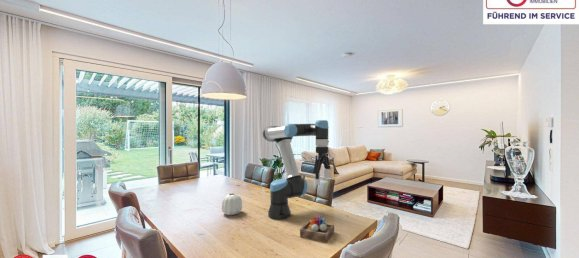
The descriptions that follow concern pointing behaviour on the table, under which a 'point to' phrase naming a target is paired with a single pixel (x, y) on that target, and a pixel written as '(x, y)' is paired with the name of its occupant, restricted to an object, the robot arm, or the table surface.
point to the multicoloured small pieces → (318, 224)
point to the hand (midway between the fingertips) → (322, 182)
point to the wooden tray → (317, 233)
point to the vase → (231, 204)
